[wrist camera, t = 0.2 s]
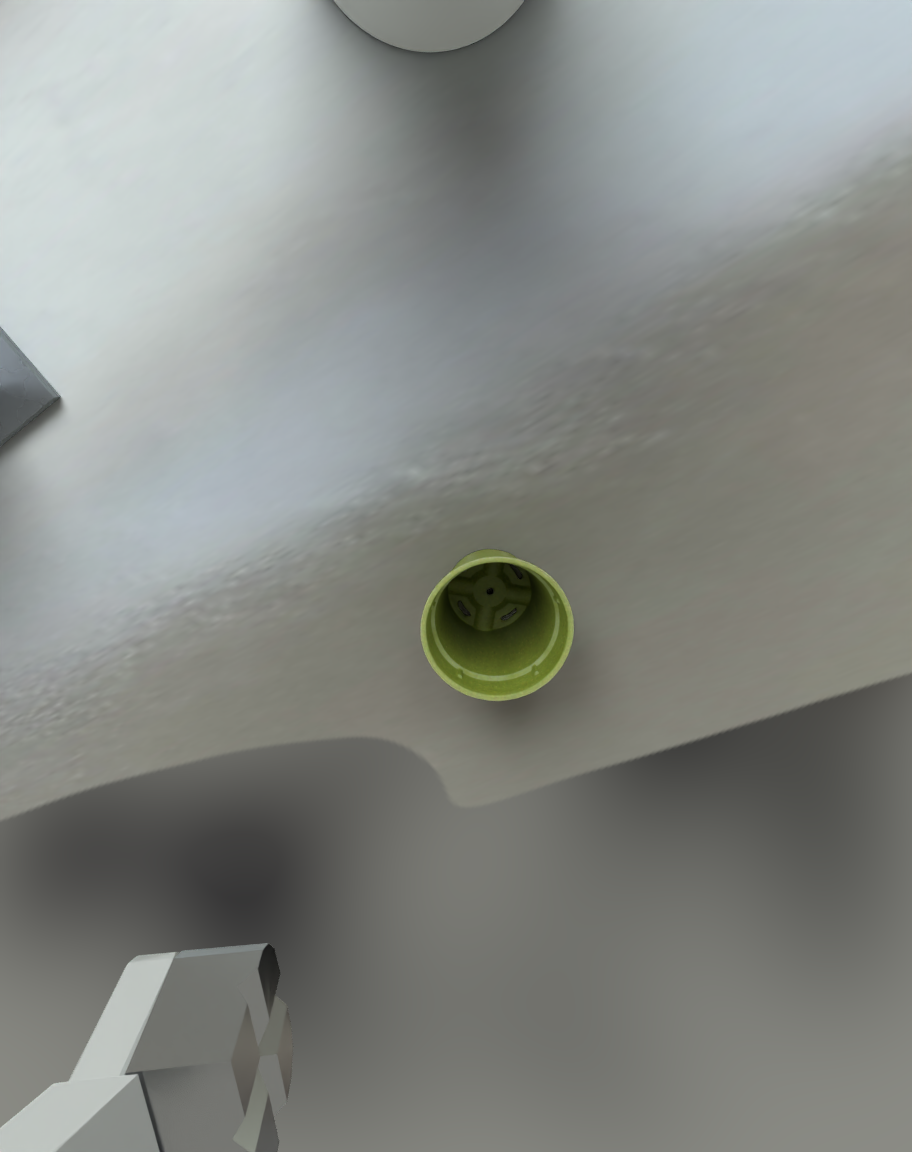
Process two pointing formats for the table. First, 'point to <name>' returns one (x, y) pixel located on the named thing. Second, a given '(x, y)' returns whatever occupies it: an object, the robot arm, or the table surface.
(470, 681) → the plant pot
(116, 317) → the table surface
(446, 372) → the table surface
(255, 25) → the table surface
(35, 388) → the sleeve
